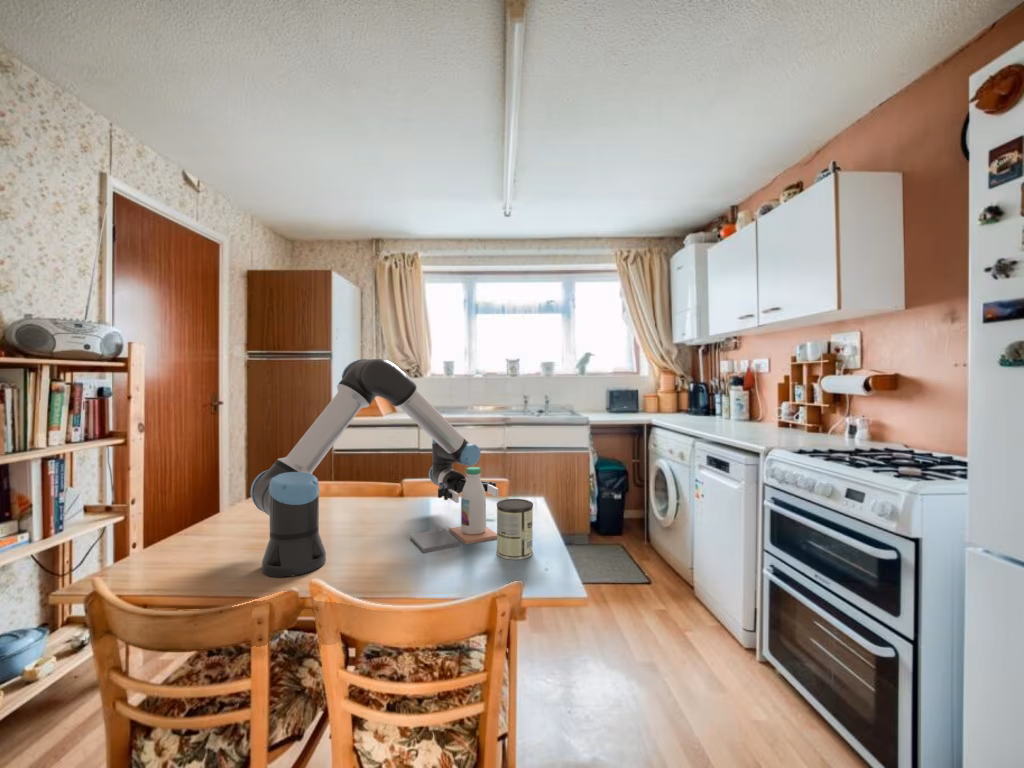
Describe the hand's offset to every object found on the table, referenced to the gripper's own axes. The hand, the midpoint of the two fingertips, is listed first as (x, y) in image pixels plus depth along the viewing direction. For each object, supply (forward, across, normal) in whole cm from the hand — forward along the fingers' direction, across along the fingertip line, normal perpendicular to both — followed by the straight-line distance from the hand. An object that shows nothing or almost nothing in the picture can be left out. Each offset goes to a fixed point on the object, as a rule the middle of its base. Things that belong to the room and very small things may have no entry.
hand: (478, 495), depth 142 cm
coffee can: (+16, -4, -13) cm, 21 cm away
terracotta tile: (-3, 0, -13) cm, 13 cm away
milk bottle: (-3, 0, -12) cm, 13 cm away
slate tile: (-3, +13, -13) cm, 19 cm away
